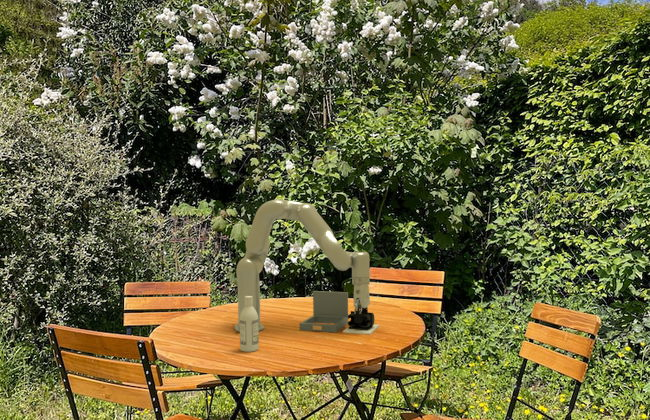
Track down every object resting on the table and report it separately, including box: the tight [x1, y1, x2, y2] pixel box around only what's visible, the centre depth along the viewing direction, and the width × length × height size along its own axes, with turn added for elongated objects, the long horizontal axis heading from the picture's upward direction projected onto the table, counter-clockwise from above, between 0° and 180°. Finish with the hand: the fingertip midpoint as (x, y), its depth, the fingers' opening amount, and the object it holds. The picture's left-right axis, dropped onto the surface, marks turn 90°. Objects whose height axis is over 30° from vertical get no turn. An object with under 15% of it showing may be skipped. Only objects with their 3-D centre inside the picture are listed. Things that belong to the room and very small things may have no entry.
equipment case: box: [299, 290, 349, 333], centre depth 240 cm, size 19×16×14 cm
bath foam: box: [239, 296, 260, 353], centre depth 204 cm, size 7×7×20 cm
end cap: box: [347, 310, 375, 330], centre depth 234 cm, size 10×7×7 cm
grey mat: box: [342, 323, 380, 336], centre depth 234 cm, size 16×12×1 cm
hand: (361, 320), depth 234 cm, fingers open, 9 cm apart
